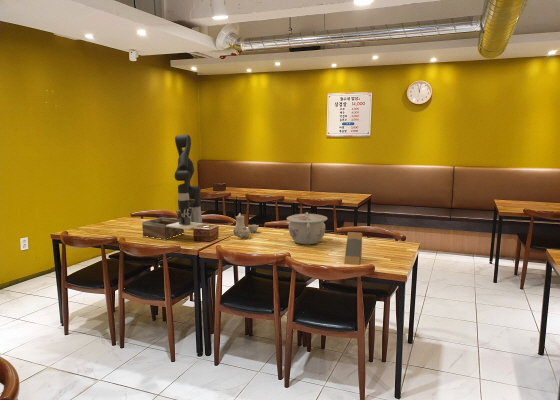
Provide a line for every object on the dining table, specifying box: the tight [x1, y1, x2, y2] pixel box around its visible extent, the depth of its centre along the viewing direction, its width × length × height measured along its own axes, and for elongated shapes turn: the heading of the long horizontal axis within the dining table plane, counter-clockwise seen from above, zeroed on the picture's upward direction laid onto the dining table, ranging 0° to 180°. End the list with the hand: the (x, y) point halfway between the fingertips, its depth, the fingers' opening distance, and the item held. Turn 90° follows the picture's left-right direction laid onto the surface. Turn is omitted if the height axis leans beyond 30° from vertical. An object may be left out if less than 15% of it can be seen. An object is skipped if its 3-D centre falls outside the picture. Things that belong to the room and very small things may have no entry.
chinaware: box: [232, 212, 259, 239], centre depth 299 cm, size 28×17×17 cm, turn 168°
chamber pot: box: [286, 211, 328, 246], centre depth 275 cm, size 28×28×21 cm
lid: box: [166, 216, 205, 230], centre depth 288 cm, size 17×20×6 cm
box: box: [141, 216, 185, 240], centre depth 300 cm, size 19×22×11 cm
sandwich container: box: [343, 231, 363, 266], centre depth 234 cm, size 9×15×15 cm, turn 163°
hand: (184, 223), depth 289 cm, fingers closed on lid, 3 cm apart
